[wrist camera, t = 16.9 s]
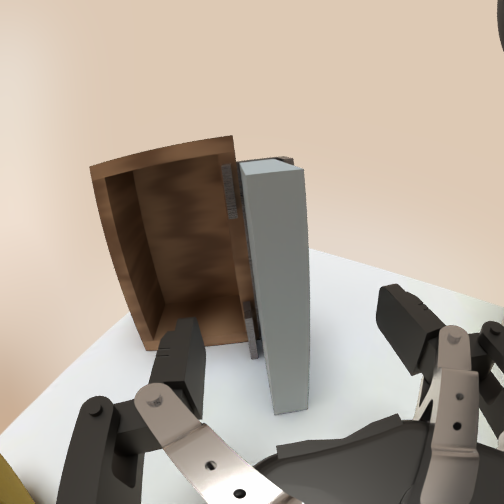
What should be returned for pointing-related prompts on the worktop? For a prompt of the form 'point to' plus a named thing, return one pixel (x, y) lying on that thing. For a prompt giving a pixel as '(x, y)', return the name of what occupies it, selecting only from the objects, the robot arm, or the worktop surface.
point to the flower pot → (12, 486)
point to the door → (280, 275)
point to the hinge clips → (233, 215)
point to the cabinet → (177, 239)
